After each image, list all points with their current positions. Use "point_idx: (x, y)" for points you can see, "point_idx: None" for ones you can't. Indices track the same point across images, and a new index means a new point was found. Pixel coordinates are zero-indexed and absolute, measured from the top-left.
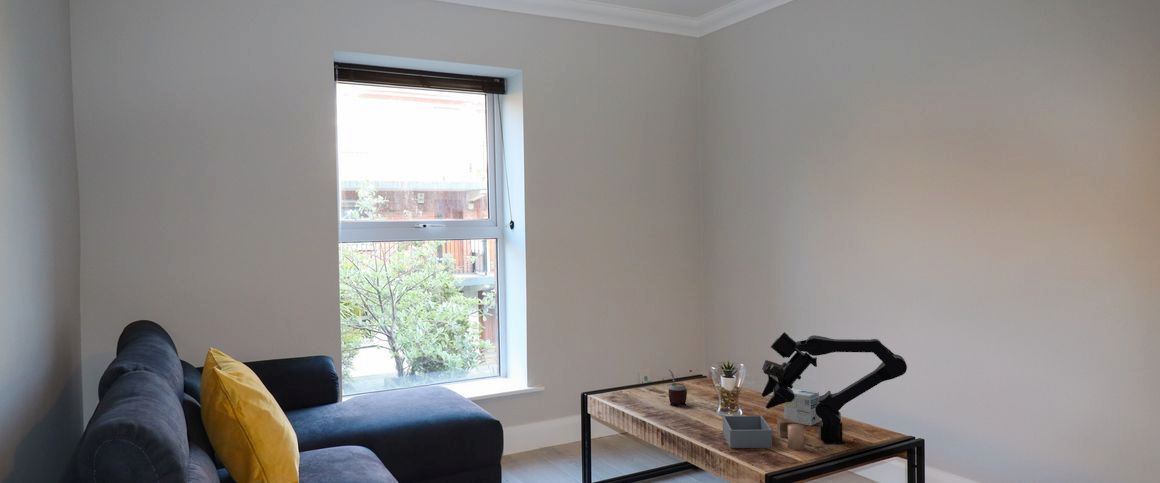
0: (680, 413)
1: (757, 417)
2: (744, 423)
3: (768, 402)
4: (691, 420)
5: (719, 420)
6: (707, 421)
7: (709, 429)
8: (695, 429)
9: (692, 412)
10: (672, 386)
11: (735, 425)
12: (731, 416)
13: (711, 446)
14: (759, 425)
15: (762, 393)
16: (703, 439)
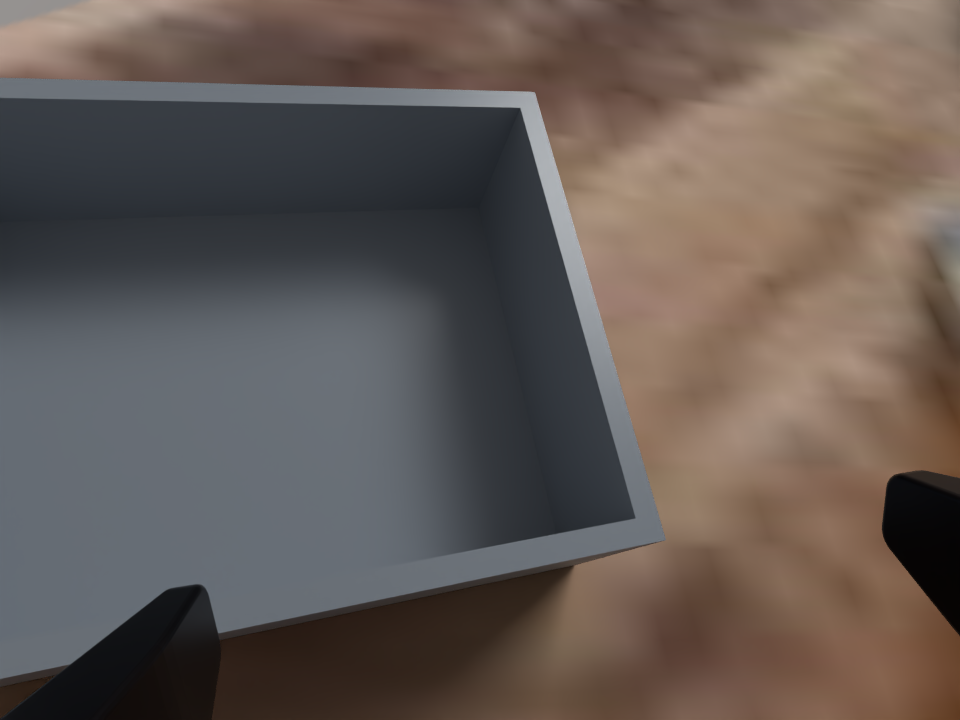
0: (864, 4)
1: (615, 484)
2: (545, 350)
3: (86, 682)
4: (738, 39)
5: (808, 212)
6: (751, 130)
7: (547, 118)
8: (523, 31)
9: (917, 70)
10: None
11: (516, 271)
12: (537, 174)
13: (11, 71)
14: (579, 528)
15: (945, 485)
16: (246, 43)
